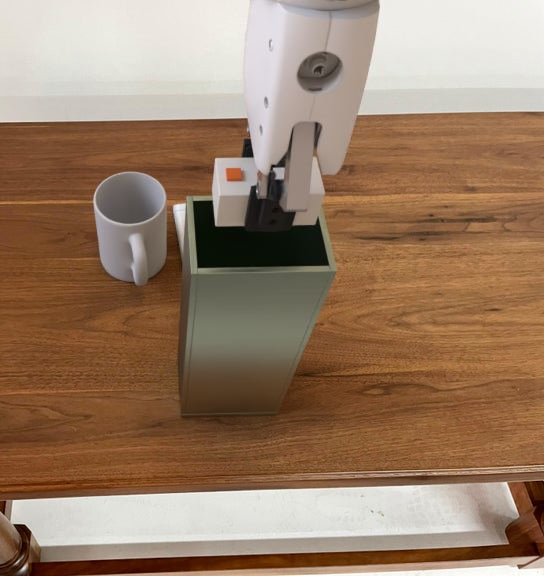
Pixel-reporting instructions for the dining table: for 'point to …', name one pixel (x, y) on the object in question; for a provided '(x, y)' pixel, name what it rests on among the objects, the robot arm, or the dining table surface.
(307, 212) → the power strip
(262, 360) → the box
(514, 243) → the dining table surface
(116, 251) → the mug
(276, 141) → the robot arm
